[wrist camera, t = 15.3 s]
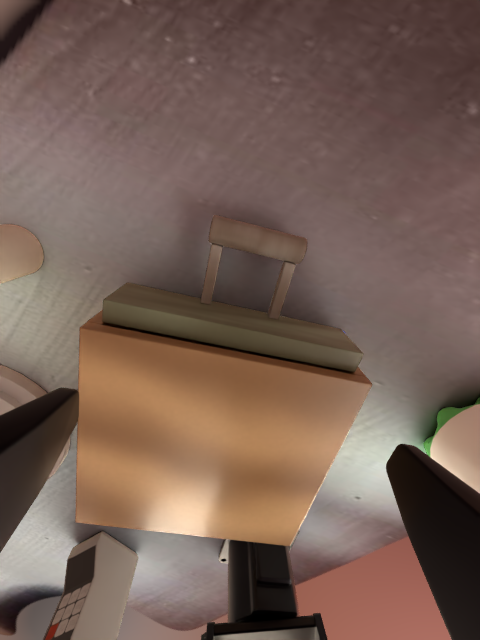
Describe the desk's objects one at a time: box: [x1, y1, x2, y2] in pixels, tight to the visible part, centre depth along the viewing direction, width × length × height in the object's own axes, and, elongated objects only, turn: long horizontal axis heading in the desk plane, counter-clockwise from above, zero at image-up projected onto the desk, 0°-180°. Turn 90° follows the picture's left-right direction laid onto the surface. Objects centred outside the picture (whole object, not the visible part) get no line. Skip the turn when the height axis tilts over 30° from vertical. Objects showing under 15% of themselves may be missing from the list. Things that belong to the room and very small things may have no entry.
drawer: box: [102, 215, 363, 372], centre depth 16 cm, size 18×13×3 cm
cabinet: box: [75, 309, 372, 546], centre depth 18 cm, size 14×14×5 cm
